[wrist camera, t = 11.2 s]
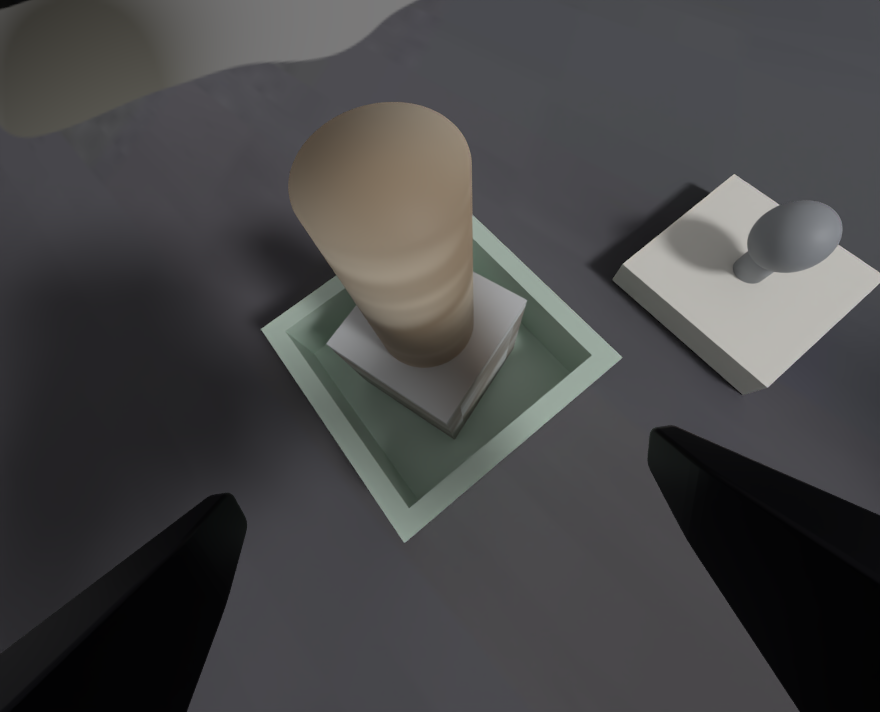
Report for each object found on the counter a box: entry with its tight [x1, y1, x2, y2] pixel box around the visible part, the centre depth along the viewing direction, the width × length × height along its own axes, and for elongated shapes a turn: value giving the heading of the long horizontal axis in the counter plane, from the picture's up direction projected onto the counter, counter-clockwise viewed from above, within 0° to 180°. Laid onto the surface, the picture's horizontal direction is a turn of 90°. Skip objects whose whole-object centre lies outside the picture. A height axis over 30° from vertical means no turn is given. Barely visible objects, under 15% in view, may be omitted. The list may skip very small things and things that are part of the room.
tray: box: [261, 215, 622, 543], centre depth 17 cm, size 11×11×4 cm
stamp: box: [288, 102, 527, 440], centre depth 13 cm, size 5×5×12 cm
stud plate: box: [612, 174, 880, 395], centre depth 16 cm, size 8×8×5 cm
